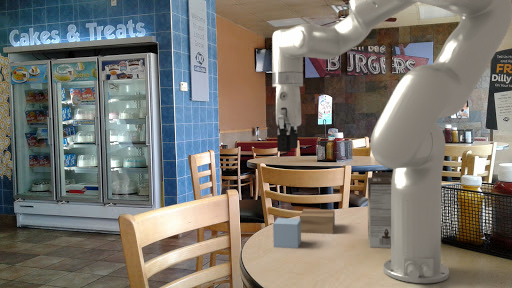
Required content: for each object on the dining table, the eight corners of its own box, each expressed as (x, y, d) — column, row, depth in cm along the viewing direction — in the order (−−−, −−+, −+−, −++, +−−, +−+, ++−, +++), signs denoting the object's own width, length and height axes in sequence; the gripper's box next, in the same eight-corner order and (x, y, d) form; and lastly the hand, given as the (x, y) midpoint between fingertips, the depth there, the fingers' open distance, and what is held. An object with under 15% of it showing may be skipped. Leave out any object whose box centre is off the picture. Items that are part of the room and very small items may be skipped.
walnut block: (332, 234, 123) (332, 216, 123) (299, 233, 125) (299, 215, 125) (334, 226, 132) (334, 209, 131) (304, 225, 134) (303, 209, 133)
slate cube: (297, 248, 110) (297, 224, 110) (273, 247, 112) (273, 223, 112) (301, 241, 116) (300, 218, 116) (278, 240, 118) (277, 218, 117)
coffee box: (367, 237, 119) (367, 176, 118) (392, 238, 117) (392, 176, 116) (368, 247, 110) (368, 182, 109) (396, 248, 108) (396, 182, 107)
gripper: (296, 78, 102) (297, 153, 104) (307, 82, 119) (307, 147, 120) (264, 79, 104) (265, 152, 105) (279, 83, 121) (280, 146, 122)
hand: (287, 149), depth 113 cm, fingers open, 9 cm apart
